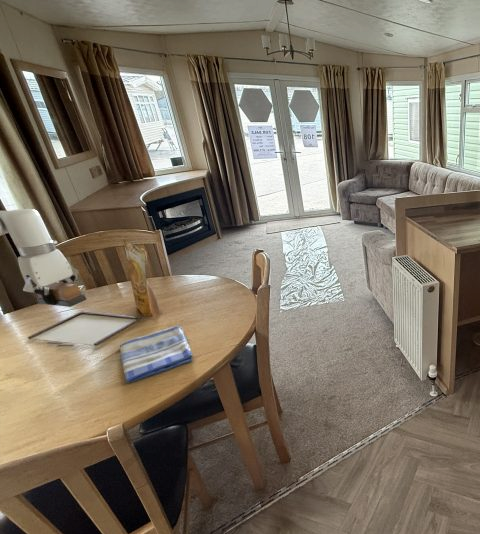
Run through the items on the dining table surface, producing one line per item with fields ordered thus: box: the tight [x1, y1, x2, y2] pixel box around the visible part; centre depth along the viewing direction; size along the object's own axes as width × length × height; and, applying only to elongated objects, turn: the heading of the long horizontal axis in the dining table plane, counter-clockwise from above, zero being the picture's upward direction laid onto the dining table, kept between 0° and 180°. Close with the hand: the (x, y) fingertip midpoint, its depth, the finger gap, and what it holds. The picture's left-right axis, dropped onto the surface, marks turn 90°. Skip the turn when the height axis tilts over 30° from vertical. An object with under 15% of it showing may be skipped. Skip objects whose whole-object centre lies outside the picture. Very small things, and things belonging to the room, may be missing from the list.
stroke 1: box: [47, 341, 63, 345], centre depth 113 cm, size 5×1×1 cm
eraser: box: [33, 281, 87, 308], centre depth 112 cm, size 12×5×6 cm, turn 82°
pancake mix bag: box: [121, 239, 160, 317], centre depth 129 cm, size 7×19×28 cm, turn 51°
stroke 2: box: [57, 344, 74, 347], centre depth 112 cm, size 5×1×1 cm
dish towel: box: [119, 325, 194, 384], centre depth 110 cm, size 17×24×3 cm
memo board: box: [27, 310, 144, 347], centre depth 121 cm, size 26×17×2 cm, turn 83°
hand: (62, 299), depth 112 cm, fingers closed on eraser, 5 cm apart
